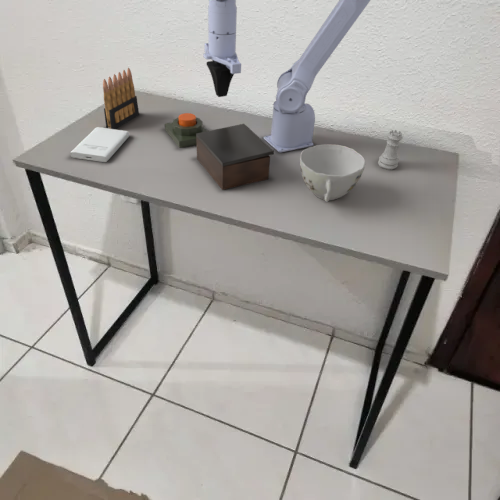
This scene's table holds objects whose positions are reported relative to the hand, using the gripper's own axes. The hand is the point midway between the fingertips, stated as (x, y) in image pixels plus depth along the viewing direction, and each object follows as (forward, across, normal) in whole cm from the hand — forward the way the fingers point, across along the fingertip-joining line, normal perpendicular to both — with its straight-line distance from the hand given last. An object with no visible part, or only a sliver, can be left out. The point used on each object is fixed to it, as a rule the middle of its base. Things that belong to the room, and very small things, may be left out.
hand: (221, 95), depth 105 cm
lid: (+5, +14, -3) cm, 15 cm away
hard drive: (+11, -6, -27) cm, 29 cm away
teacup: (+10, +31, +9) cm, 34 cm away
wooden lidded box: (+10, +14, -4) cm, 18 cm away
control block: (+10, -4, -7) cm, 13 cm away
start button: (+7, -4, -7) cm, 11 cm away
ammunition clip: (+11, -17, -19) cm, 27 cm away
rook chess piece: (+10, +26, +29) cm, 40 cm away
